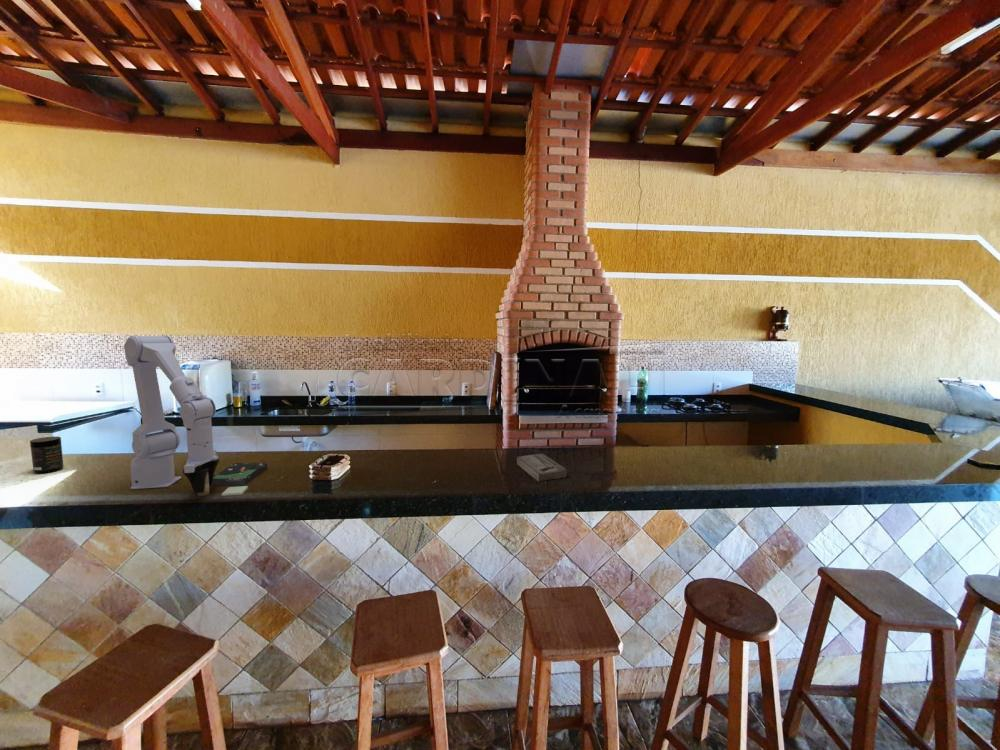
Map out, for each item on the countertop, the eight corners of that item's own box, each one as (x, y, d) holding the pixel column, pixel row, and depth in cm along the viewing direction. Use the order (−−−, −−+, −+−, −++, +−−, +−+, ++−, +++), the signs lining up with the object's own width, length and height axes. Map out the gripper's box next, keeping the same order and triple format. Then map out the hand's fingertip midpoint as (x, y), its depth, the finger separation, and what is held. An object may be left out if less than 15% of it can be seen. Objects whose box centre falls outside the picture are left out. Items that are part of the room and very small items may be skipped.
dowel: (195, 496, 116) (194, 475, 115) (200, 492, 118) (198, 472, 118) (206, 495, 116) (205, 474, 116) (211, 491, 119) (210, 471, 118)
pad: (221, 495, 116) (221, 493, 116) (228, 489, 121) (228, 487, 121) (241, 494, 117) (241, 492, 117) (248, 487, 122) (247, 485, 122)
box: (542, 460, 151) (542, 452, 151) (567, 477, 135) (567, 468, 135) (515, 464, 147) (515, 456, 147) (538, 483, 131) (538, 473, 131)
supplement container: (70, 467, 137) (67, 436, 136) (50, 474, 131) (46, 441, 130) (47, 467, 137) (44, 436, 136) (26, 474, 130) (22, 442, 129)
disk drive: (235, 471, 138) (208, 487, 123) (234, 462, 138) (208, 478, 123) (267, 470, 139) (245, 486, 124) (267, 462, 139) (244, 477, 124)
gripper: (204, 448, 110) (207, 498, 111) (226, 434, 124) (229, 479, 125) (173, 450, 108) (177, 500, 110) (199, 435, 122) (202, 480, 124)
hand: (203, 489), depth 117 cm, fingers open, 4 cm apart
